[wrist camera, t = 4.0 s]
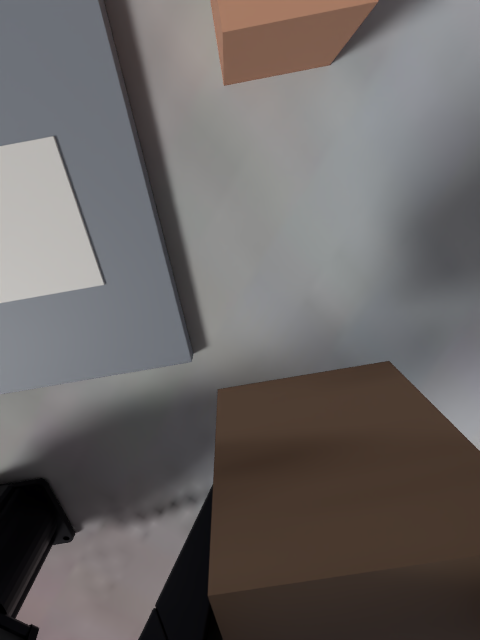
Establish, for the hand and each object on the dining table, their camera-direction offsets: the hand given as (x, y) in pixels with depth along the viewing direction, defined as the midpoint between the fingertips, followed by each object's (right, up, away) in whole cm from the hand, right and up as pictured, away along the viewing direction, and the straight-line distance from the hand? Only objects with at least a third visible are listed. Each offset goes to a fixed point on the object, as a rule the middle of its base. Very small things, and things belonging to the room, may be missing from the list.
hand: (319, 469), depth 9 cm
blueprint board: (-14, +9, +7) cm, 18 cm away
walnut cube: (0, 0, +1) cm, 1 cm away
